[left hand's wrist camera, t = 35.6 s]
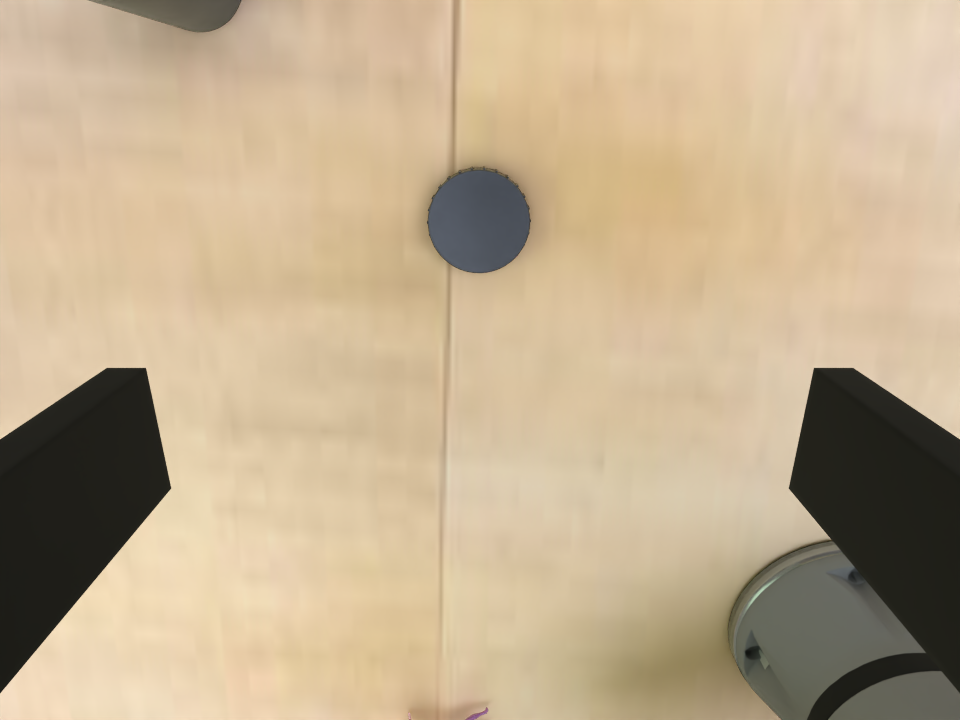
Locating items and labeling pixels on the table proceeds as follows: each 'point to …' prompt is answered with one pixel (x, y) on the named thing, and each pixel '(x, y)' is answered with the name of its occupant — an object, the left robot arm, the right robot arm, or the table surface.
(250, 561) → the table surface
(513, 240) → the lid
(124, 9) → the dark grey cylinder
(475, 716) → the people figure
